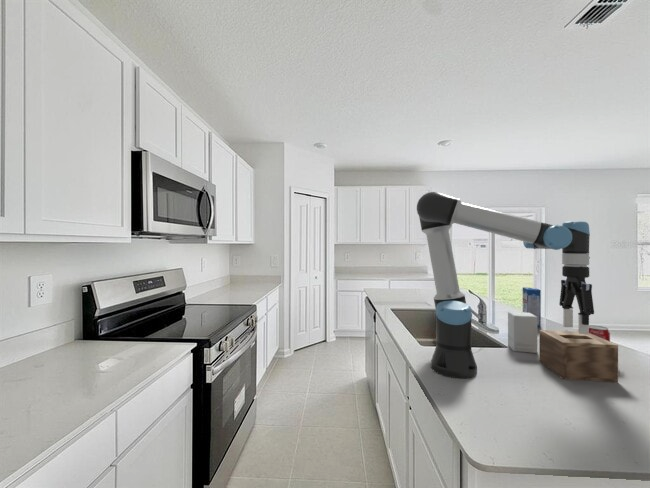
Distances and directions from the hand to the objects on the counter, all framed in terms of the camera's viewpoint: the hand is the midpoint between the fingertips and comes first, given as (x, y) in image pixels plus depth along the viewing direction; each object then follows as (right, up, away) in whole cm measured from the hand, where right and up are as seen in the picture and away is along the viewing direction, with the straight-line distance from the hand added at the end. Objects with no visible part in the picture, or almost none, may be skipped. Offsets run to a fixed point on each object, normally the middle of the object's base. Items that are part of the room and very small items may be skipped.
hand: (575, 330), depth 114 cm
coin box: (0, -14, 0) cm, 14 cm away
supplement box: (-4, -15, +24) cm, 28 cm away
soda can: (+16, -15, +10) cm, 23 cm away
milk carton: (+26, -15, +66) cm, 72 cm away
